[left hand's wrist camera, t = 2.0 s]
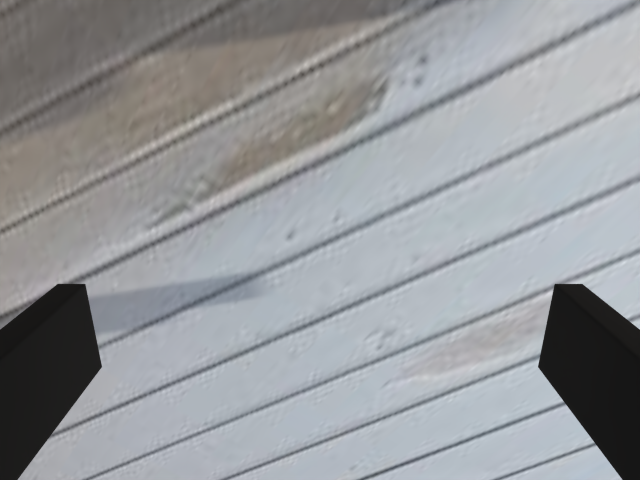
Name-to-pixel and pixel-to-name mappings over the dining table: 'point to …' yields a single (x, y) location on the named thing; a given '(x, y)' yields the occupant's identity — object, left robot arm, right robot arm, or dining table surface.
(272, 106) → the dining table surface
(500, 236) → the dining table surface
